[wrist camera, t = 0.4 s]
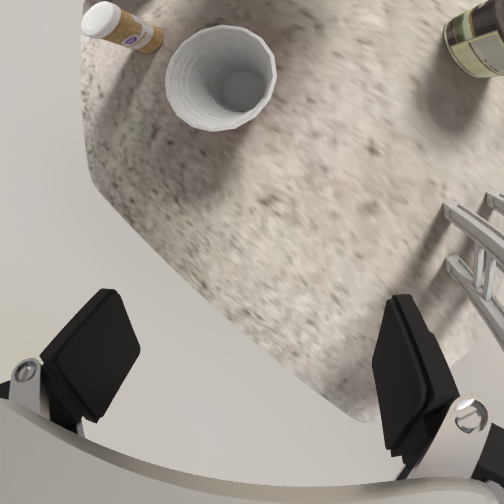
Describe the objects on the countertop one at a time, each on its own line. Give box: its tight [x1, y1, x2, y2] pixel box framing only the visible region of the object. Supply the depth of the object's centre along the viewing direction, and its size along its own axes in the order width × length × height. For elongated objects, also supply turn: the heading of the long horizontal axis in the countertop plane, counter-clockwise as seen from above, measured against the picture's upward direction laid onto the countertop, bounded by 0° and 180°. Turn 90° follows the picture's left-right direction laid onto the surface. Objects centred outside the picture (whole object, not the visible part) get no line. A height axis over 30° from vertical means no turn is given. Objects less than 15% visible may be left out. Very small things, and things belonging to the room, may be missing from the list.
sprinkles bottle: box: [81, 1, 164, 53], centre depth 23 cm, size 5×5×13 cm
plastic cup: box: [164, 25, 277, 132], centre depth 26 cm, size 11×11×12 cm
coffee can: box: [444, 0, 504, 78], centre depth 16 cm, size 10×10×14 cm
